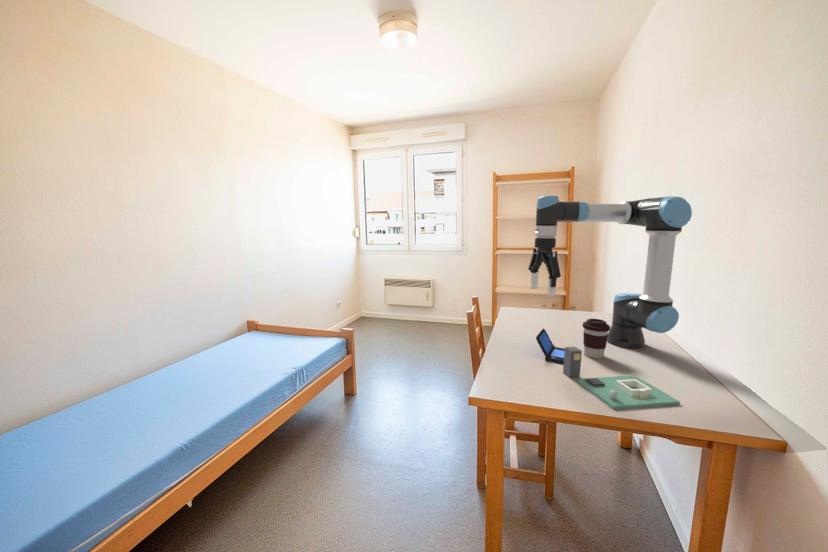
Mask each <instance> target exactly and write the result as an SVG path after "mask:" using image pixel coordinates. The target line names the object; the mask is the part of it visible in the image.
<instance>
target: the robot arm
mask: <svg viewBox="0 0 828 552" xmlns="http://www.w3.org/2000/svg"><path fill="white" fill-rule="evenodd" d="M559 199H560V198H559V196H558V195H541V196H538V198H537V203H536V207H535V210H536V215H535V216H536V217H535V228H534V231H535V232H534V233H535V234H534V235H535V238H534V248H533V251H532V256H531V259H530V263H529V265H528V271H530V273H531V274H530V289H531V290H533V289H534V290H536V289H538V288H539V287H538V286H539V272H540V271H539V269H540V267H541V266H542V263H543V264H544V265H545V267H546V270H547V273H548V280H547V281H548V282H547V294H546V295H547V296H548V297H549V296H550V297H554V296H555V297H556V290H557V279H558V278H559V279H560V278H561V276H562V275H561V269H560V266H559V265H560V264H559V260H558V251H556V250H555V251H554V250H553V249H555V248H556V245H557V239H556V237H557V230H558V229H557V228H558V223H560V222H561V223H563V222H565V223H567V222H570V223H574V222H575V223H578V222H579V223H580V222H581V223H583V222H586V223H588V222H589V223H592V222H593V223H594V222H596V223H597V222H598V223H600V222H601V223H602V222H606V223H612V222H614V223H618V224H619V225H630V226H631V225H632V226H636V227H637V226H639V227H645V233H646V234H647V235H648V237H649V238H648V246H647V256H646V265H645V273H644V283H643V292H642V293H629V292H628V293H617V294H615V295H614V299H613V300H614V301H613V306H612V307H613V308H612V317H611V318H612V320H611V324H610V325H611V326H610V330H609V331H608V337H607V343H609V344H611V345H614V346H616V347H621V348H627V349H641V348H642V349H643V348H644V347H645V346H646V340H645V336H644V332H643V329H645V330H647V331H650V332H654V333H657V334H664V333H667V332H670V331H671V330H672V329H674V328H675V326H676V325H677V323H678V321H679V319H680V315H679V311H678V310H677V309H676V308H675V307H674V306H673V303H674V299H672V298H671V296H670V289H671V281H672V272H673V265H674V264H673V263H674V255H675V247H676V239H677V236H678V235H679V234H681V232H682V230H683V229H682V228H683V227H685V226H686V225H687V224H689V223H688V222H690V221H691V219H692V215H693V214H692V213H693V210H692V206H691V204H690V203H689V202H688V201H687V200H686V199H685V198H684V197H682V196H670V195H668V196H664V197H663V196H661V197H651V198H650V197H649V198H644V199H643V198H641V199H637V200H630V201H629V200H628V201H627V200H626V201H621V202H619V203H587V202H586V201H579V200H578V201H560V200H559Z"/></svg>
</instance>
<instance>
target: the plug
mask: <svg viewBox="0 0 828 552" xmlns="http://www.w3.org/2000/svg"><path fill="white" fill-rule="evenodd" d="M564 349H565V352H564V364H563V367H562V374H563V375H565V376H566V377H567V378H569V379H573V378H580V377H581V367H582V366H581V363H582V354H583V353H582V350H581V349H580V348H578V347H576V346H566V347H564Z"/></svg>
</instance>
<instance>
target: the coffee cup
mask: <svg viewBox="0 0 828 552" xmlns="http://www.w3.org/2000/svg"><path fill="white" fill-rule="evenodd" d="M582 328H583V341H582V342H583V353H584V355H585V356H586V357H588V358H592V359H602V358H604V355H605V350H606V348H607V343H608V342H607V337H608V332H609V330H610V328H611V326H610V324H607V321H605V320H603V319H599V318H588V319H587V320H586V321H583V322H582Z"/></svg>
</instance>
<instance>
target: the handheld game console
mask: <svg viewBox="0 0 828 552" xmlns="http://www.w3.org/2000/svg"><path fill="white" fill-rule="evenodd" d="M535 340H536V341H537V343H538V345H539V347H540V350H541V351H542V353H543V355H544V356H545V357H544V360H545V361H547V362H552V363H558V364H563V365H564V352H565V348H563V347H558V346H555V345H554V344H553V343H552V340H551V339H550V336H549V334H548V333H547V331H546V329H545V328H542V329H541V331H539V333H538V334H537V335H536V337H535Z"/></svg>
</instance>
